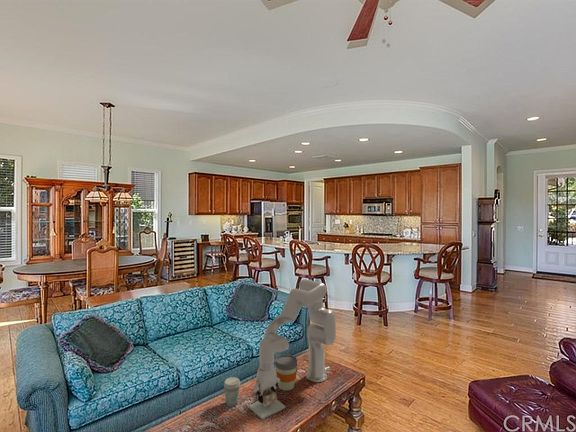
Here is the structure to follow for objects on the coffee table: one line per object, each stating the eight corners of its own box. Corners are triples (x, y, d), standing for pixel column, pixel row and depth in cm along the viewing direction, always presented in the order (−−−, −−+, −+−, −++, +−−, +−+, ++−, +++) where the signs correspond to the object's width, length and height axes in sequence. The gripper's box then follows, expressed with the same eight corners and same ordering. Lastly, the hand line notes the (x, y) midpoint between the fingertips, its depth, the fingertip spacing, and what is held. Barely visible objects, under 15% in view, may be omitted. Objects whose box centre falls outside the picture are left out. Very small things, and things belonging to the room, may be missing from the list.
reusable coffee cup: (298, 380, 188) (298, 355, 188) (296, 392, 176) (296, 366, 175) (276, 379, 190) (276, 354, 189) (273, 391, 177) (273, 364, 177)
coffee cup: (224, 410, 161) (224, 386, 161) (223, 400, 169) (223, 377, 169) (241, 407, 163) (241, 384, 163) (239, 397, 172) (239, 375, 171)
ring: (268, 394, 168) (268, 387, 168) (276, 401, 162) (276, 393, 162) (257, 400, 163) (257, 392, 163) (265, 406, 158) (265, 398, 158)
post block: (271, 396, 172) (271, 385, 172) (285, 407, 163) (285, 396, 163) (248, 407, 163) (248, 395, 163) (262, 419, 154) (262, 407, 154)
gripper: (276, 356, 171) (276, 389, 171) (248, 367, 160) (248, 402, 160) (285, 362, 165) (284, 396, 166) (256, 373, 154) (256, 409, 155)
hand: (266, 399), depth 163 cm, fingers closed on ring, 7 cm apart
